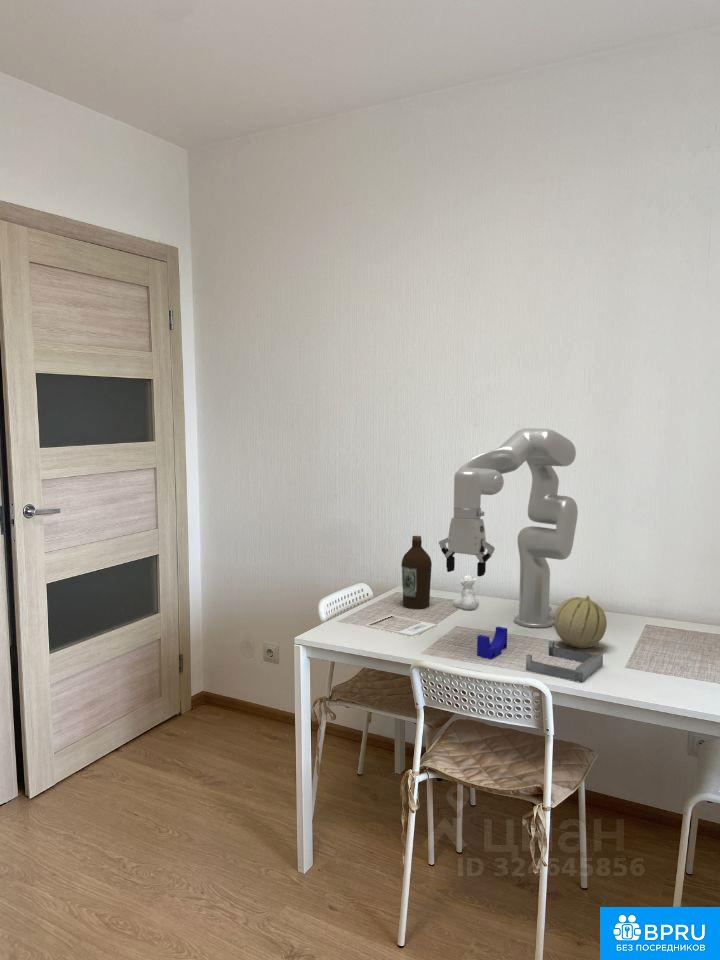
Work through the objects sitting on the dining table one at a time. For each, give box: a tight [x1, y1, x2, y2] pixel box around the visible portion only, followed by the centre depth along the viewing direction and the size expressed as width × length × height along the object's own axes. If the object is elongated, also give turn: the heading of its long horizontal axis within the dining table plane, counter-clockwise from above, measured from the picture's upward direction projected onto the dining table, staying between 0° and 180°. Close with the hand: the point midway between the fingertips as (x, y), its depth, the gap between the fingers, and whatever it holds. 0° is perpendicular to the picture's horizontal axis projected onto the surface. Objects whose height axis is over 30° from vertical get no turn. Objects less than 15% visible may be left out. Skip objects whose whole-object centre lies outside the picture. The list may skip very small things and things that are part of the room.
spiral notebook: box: [364, 614, 438, 637], centre depth 234 cm, size 15×1×18 cm
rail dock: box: [525, 640, 604, 683], centre depth 195 cm, size 16×15×4 cm
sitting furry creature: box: [452, 574, 480, 611], centre depth 256 cm, size 10×9×12 cm
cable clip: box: [476, 626, 508, 660], centre depth 208 cm, size 12×4×6 cm, turn 141°
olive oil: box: [400, 535, 433, 610], centre depth 258 cm, size 11×11×25 cm
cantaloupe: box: [553, 595, 608, 649], centre depth 213 cm, size 15×15×15 cm
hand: (465, 573), depth 207 cm, fingers open, 9 cm apart
